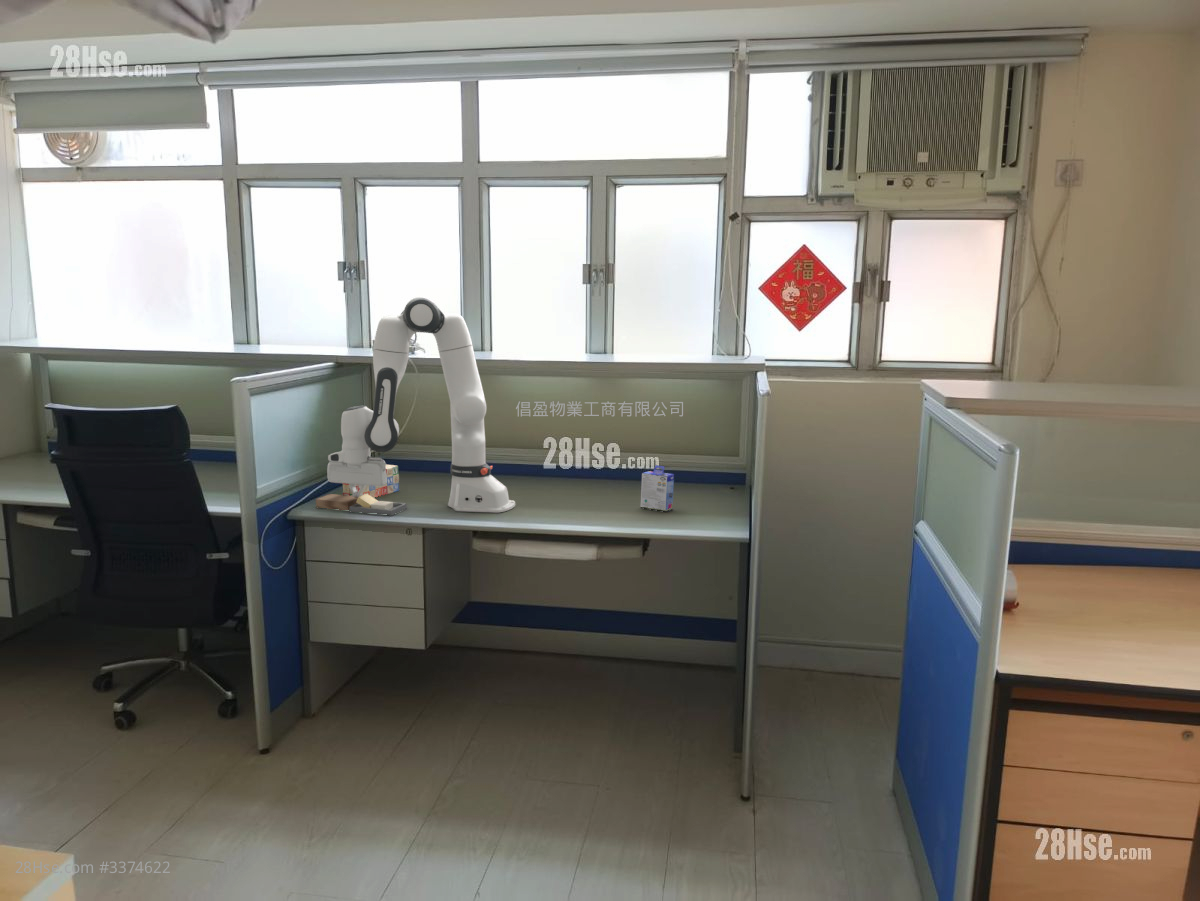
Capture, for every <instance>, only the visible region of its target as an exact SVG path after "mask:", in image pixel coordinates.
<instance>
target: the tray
mask: <svg viewBox="0 0 1200 901" xmlns="http://www.w3.org/2000/svg"><path fill="white" fill-rule="evenodd" d="M392 502H393V508H392V509H390V510H386V509H375V508H364V507H363V506H361V505H360V504H358V503H357V504H355V505H352V506H350V507H349V511H348V512H350V511H351V512H350V513H352V512H362V513H361V514H363V513H377V514H387V515H393V514H395V513H397V514H399V513H401V512H403V511H405V510H408V504H407V503H405V502H394V501H392ZM404 509H405V510H404ZM402 510H403V511H402ZM400 511H401V512H400ZM398 512H399V513H398ZM395 515H396V514H395ZM393 516H394V515H393Z"/></svg>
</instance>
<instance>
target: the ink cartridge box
mask: <svg viewBox="0 0 1200 901" xmlns="http://www.w3.org/2000/svg"><path fill="white" fill-rule="evenodd" d="M665 468H666V467H665V466H663V465H657V464H656V465H655V466H654V469H653V471H651V470H650V471H649V470H648V471H644V472H642V473H641V488H640V507H648V508H655V509H661V510H667V509H669V508H672V507H673V506H674V484H675V474H674V473H668V472H667V473H666V472H665ZM673 508H674V507H673Z"/></svg>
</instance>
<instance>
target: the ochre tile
mask: <svg viewBox="0 0 1200 901" xmlns="http://www.w3.org/2000/svg"><path fill="white" fill-rule="evenodd" d="M378 501H379V500H378V499H376V498H373V497H371V496H370V495H368V494H365V495H362V496H360V497H358V499H357V501H356V502H357V503H358V504H360V505H361V506H363V507H364V508H371V504H373V503H375V502H378Z"/></svg>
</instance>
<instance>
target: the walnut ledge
mask: <svg viewBox="0 0 1200 901" xmlns="http://www.w3.org/2000/svg"><path fill="white" fill-rule="evenodd" d="M357 499H358V498H354V497H353V496H348V495H343V494H334V493H328V494H325V495H324V496H320V497H318V498H316V499H315V508H316V507H318V508H317V509H319V508H327V509H326V510H330V509H339V510H338V511H341V510H349V507H350V506H352V505H355V504H357V502H356V501H357Z"/></svg>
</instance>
